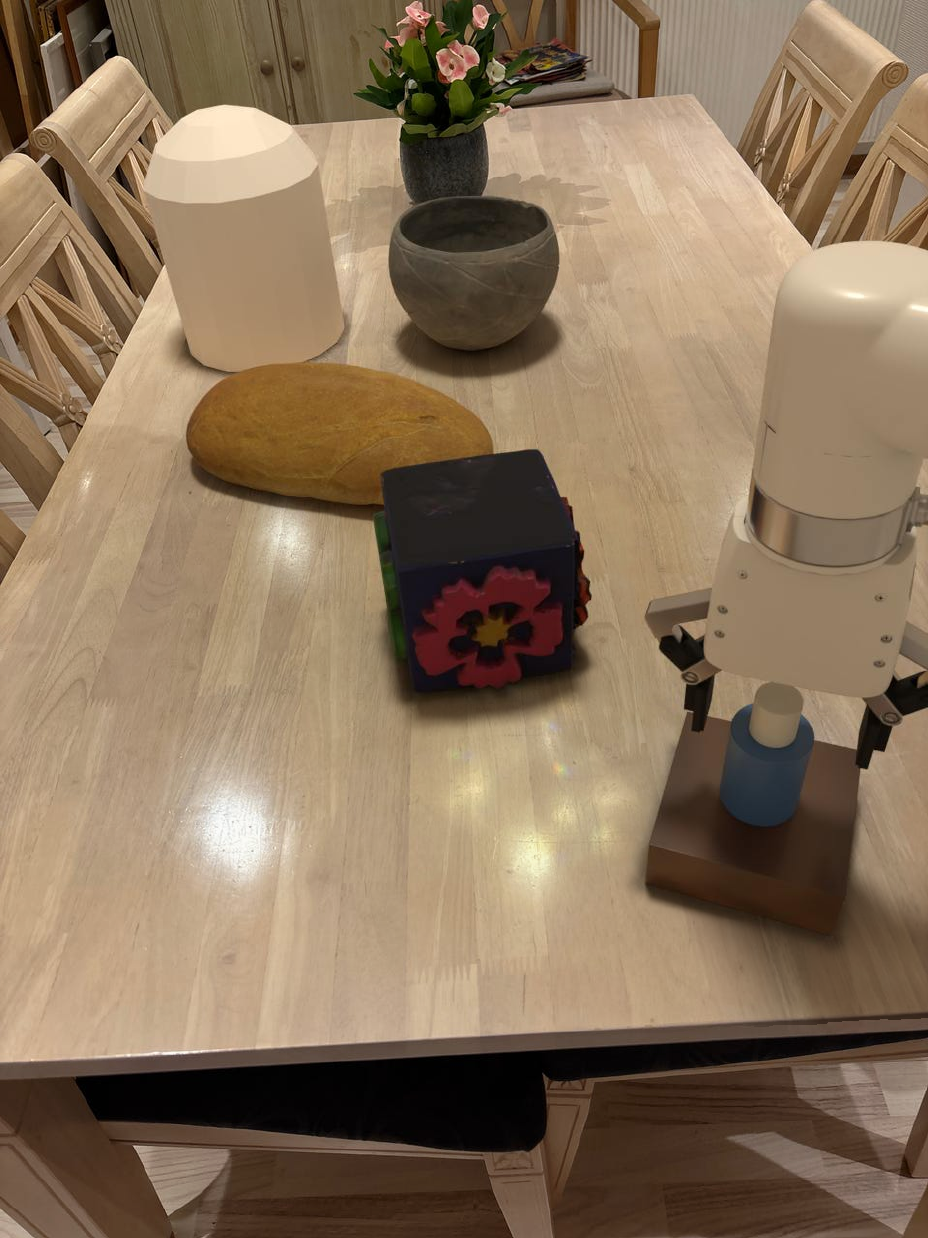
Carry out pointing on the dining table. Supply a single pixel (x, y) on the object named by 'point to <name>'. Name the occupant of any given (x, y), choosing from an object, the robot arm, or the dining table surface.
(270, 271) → the container
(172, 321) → the dining table surface
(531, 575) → the decorative cube
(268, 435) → the bread
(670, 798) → the block
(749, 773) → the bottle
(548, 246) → the bowl
